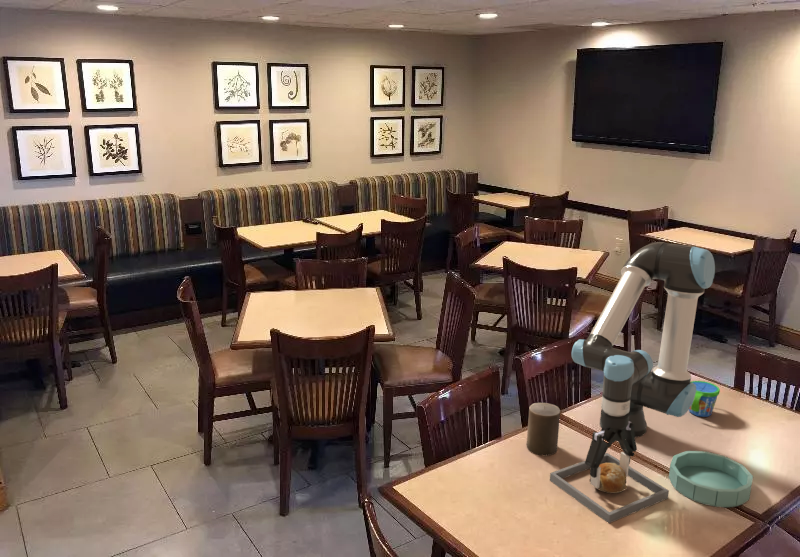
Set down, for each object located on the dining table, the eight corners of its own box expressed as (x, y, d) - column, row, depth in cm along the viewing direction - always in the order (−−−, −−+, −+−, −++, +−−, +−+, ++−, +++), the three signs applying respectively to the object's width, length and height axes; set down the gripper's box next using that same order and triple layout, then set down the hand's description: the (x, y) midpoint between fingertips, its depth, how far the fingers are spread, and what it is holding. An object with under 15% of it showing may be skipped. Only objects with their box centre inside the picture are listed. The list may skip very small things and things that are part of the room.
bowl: (653, 477, 196) (655, 462, 194) (700, 458, 206) (702, 444, 204) (717, 516, 178) (720, 499, 177) (765, 493, 188) (768, 478, 187)
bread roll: (620, 506, 186) (635, 485, 183) (587, 489, 187) (601, 468, 184) (617, 486, 195) (631, 466, 193) (585, 470, 196) (599, 449, 193)
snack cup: (694, 401, 244) (697, 375, 241) (723, 410, 237) (727, 384, 234) (675, 415, 234) (678, 388, 231) (706, 425, 226) (709, 398, 224)
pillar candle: (544, 459, 206) (548, 415, 202) (520, 446, 213) (523, 404, 209) (563, 448, 212) (567, 406, 208) (538, 437, 219) (541, 395, 215)
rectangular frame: (549, 480, 194) (550, 472, 194) (606, 460, 205) (607, 452, 205) (608, 523, 175) (609, 515, 174) (667, 498, 186) (668, 490, 185)
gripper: (594, 427, 175) (589, 499, 181) (655, 405, 186) (647, 474, 192) (574, 415, 181) (569, 485, 188) (634, 395, 192) (627, 462, 198)
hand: (609, 479), depth 190 cm, fingers closed on bread roll, 11 cm apart
